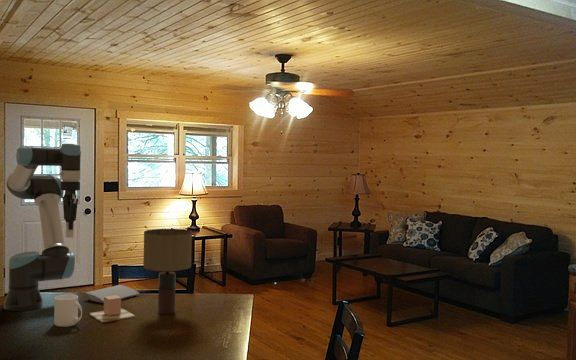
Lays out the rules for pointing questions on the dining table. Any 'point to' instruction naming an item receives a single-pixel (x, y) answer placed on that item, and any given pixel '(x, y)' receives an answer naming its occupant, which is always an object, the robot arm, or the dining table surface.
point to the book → (112, 293)
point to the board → (105, 318)
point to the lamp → (167, 261)
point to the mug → (66, 310)
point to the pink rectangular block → (112, 305)
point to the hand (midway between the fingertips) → (69, 237)
